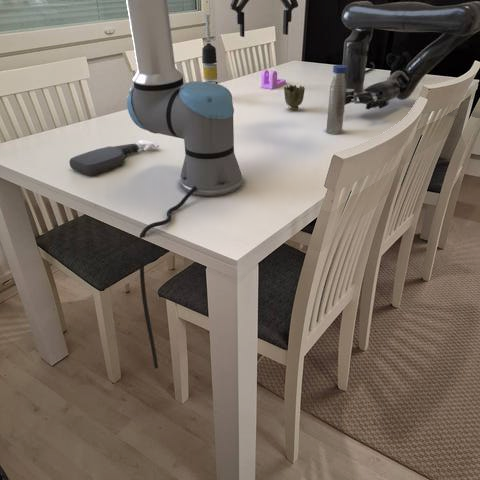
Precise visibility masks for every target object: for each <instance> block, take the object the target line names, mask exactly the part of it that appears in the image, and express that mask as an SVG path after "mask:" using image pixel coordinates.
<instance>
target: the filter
mask: <svg viewBox="0 0 480 480" xmlns="http://www.w3.org/2000/svg"><path fill="white" fill-rule="evenodd" d="M210 17H211V14H204V18H205V27H206V29H205V30H206V31H205V33H206V39H207V40H206V42H207V43H206V45H204V46H202V49H201V50H202V51H201V52H202V54H201V55H202V57H201V58H202V61H201V63H202V71H203V72H202V73H203V74H202V75H203V80H204V81H206V82H212V83H216V84H219V82H218V81H216V80H218V64H216V63H218V61H217V48H216V47H215V46H214V45H212V43H210V42H211V40H210V39H211V31H210V29H211V28H210Z"/></svg>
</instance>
